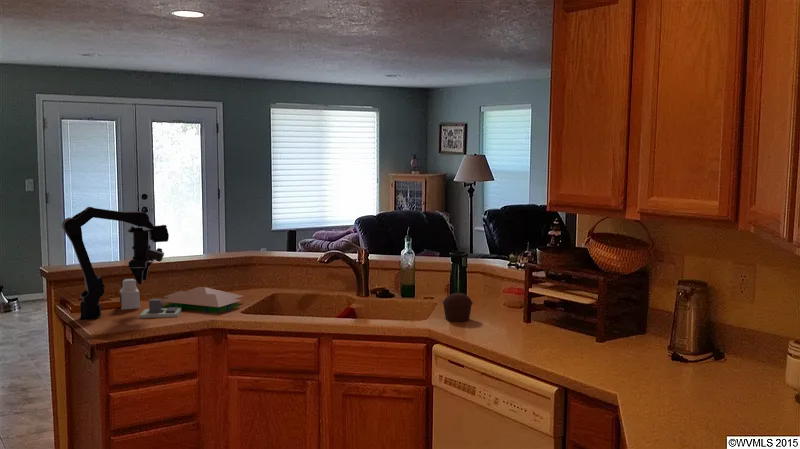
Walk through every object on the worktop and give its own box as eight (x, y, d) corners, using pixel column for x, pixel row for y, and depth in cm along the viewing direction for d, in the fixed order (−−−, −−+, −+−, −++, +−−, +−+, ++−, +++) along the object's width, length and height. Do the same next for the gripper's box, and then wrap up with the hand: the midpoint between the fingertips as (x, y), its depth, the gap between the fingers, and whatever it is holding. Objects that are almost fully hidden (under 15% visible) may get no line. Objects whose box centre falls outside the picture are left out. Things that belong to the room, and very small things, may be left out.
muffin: (458, 324, 271) (459, 297, 270) (436, 319, 278) (436, 293, 277) (478, 319, 279) (478, 293, 278) (456, 314, 287) (456, 289, 286)
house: (190, 298, 321) (190, 280, 320) (253, 304, 308) (252, 285, 307) (153, 308, 300) (153, 288, 300) (219, 315, 287) (218, 294, 286)
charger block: (149, 315, 284) (149, 300, 284) (151, 313, 288) (151, 298, 288) (160, 315, 285) (159, 300, 284) (162, 313, 289) (161, 298, 288)
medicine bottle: (120, 306, 301) (119, 278, 300) (138, 305, 304) (137, 276, 303) (121, 310, 295) (120, 280, 294) (139, 308, 298) (139, 279, 297)
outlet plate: (139, 317, 280) (139, 312, 280) (145, 311, 291) (145, 306, 291) (177, 316, 282) (177, 311, 282) (181, 310, 293) (181, 305, 293)
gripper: (157, 245, 281) (159, 285, 282) (166, 240, 299) (167, 277, 301) (127, 246, 279) (129, 286, 281) (137, 240, 298) (139, 278, 299)
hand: (142, 282), depth 290 cm, fingers open, 9 cm apart
